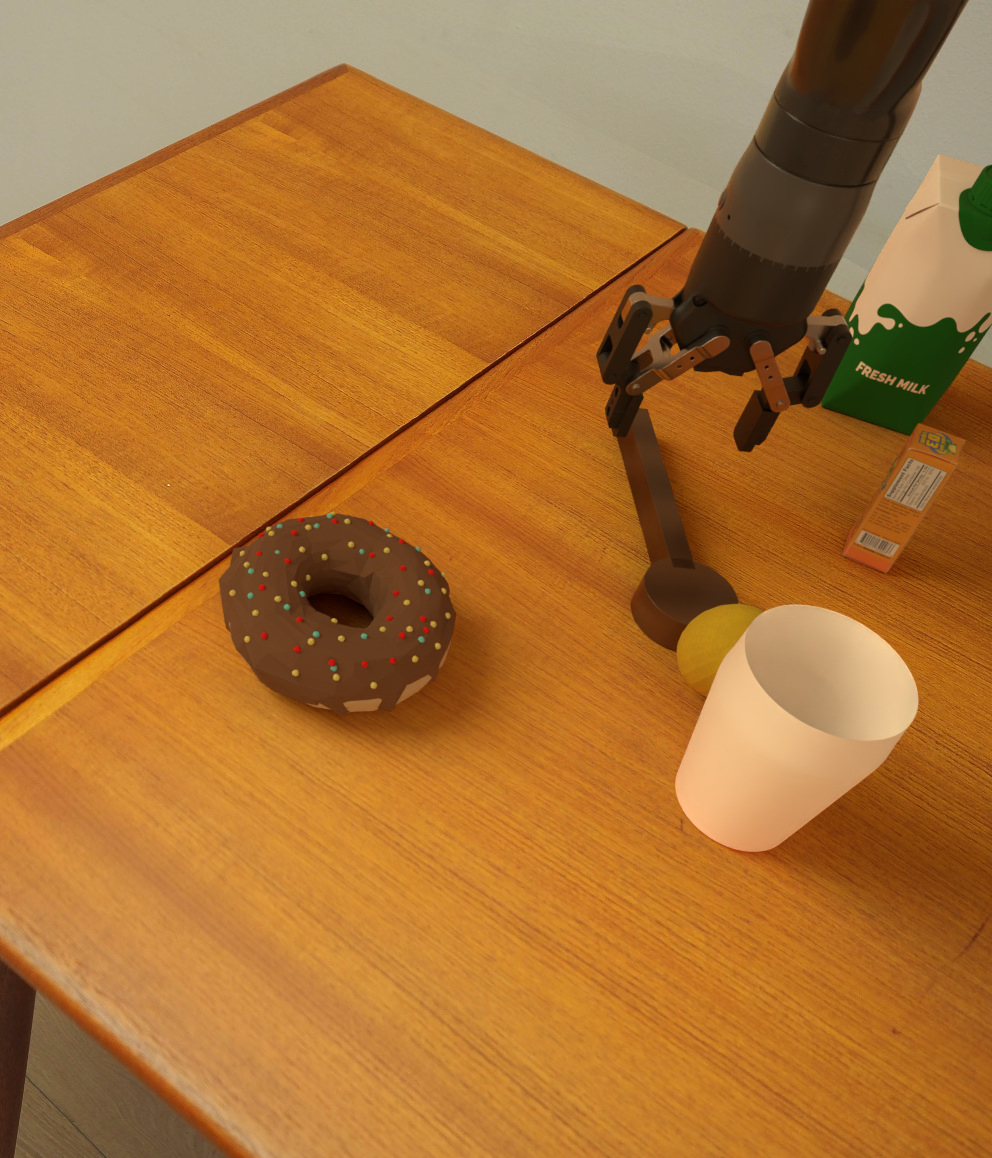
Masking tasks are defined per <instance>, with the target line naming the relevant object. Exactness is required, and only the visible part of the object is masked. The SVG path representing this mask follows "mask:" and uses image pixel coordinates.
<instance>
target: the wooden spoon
mask: <svg viewBox="0 0 992 1158" xmlns="http://www.w3.org/2000/svg"><path fill="white" fill-rule="evenodd" d="M652 422H653V421H652V417H651V415H650V412H649V409H648V408H643V407H639V410H638V412H637V414H636V416H635V418H634V421H633V423H632V425H631V427H630V430H629V432H628V434H627V436H626V437H625V438H621V437H616V440H617V443H618V447H619V451H620V454H621V458H622V461H623V466H624V470H625V472H626V477H627V480H628V485H629V487H630V492H631V495H632V498H633V499H632V500H633V502H634V506H635V510H636V513H637V517H638V520H639V524H640V528H641V532H642V536H643V539H644V543H645V546H646V550H647V554H648V557H649V561H650V564H651V565H649V566H648V568H647V569H646V571H645V572H644V575H643V576H642V578H641V580H640V582H639V584H638V586H637V587H636V589H635V591H634V593H633V595H632V597H631V601H630V611H631V615H632V618H633V620H634V622H635V623H636V625H637V626H638V628H639V629H640V630H641V631H642V632H643V633H644V634H645V635H646V636H647V637H648V638H649V639H650V640H652V641H653V642H655V644H658V645H660V646H662V647H664V648H667V649H668V650H671V651H674V652H677V644H678V642H679V639H680V636H681V634H682V632H683V631H684V630H685V628H686V627H687V625H688V624H689V623H690V622H691V621H692V620H693V619H694V618H696V617H697V616H698V615H700V614H701V613H703V612H704V611H707V610H709V609H712V608H715V607H717V606H721V605H729V604H740V602H739V598H738V595H737V593H736V591H735V589H734V587H733V586H732V585H731V583H730V582H729V581H728V580H727V579H726V578H725V577H724V576H723V575H721V574H720V573H719V572H718V571H716V570H715V569H713V568H711V567H710V566H708V565H706V564H703V563H701V562H700V561H696V560H694V557H693V554H692V551H691V548H690V545H689V541H688V537H687V535H686V531H685V528H684V525H683V522H682V518H681V514H680V511H679V508H678V505H677V502H676V498H675V494H674V491H673V488H672V483H671V482H670V479H669V478H670V477H669V475H668V471H667V469H666V466H665V462H664V461H665V460H664V459H663V455H662V452H661V448H660V445H659V442H658V438H657V434H656V432H655V429H654V426H653V423H652Z"/></svg>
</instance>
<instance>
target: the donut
mask: <svg viewBox="0 0 992 1158" xmlns="http://www.w3.org/2000/svg"><path fill="white" fill-rule="evenodd" d="M446 577H447V574H446V572H444V571H440V569H439V568H437V566H436V565H435V564H434V563H433V561H432V560H431V559H430V558H429V557H428V556H427V555H425V554H424V553H423V552H422V548H421V547H420V546H414V545H412V544H410V543H408V542H407V541H405V539H404V538H401V537H399V536H397V535H396V534H394V533H391V530H390V528H387V527H386V528H382V527H381V526H378V525H377V523H376V521H375V520H367V518H362V517H358V516H353V515H349V514H348V515H347V514H343V513H336V511H331V512H329V513H328V514H321V515H310V516H305V517H298V518H297V517H296V518H289V519H285V520H281V521H280V522H278V523H276V524H273V525H271V526H266V528H265V531H264V532H260V533H259V534H258V537H257V538H255V539H254V540H253V541H252V542H250V543H249V544H247V545H243V546H239V547H234V548H232V554H231V558H230V563H229V567H228V568H227V569H226V570H225V571H224V572H223V573H222V574H221V576H220V577H219V579H218V587H219V592H220V600H221V607H222V614H223V619H224V624H225V629H226V630H227V631H228V632H229V633H230V638H231V641H232V642H233V645H234V648H235V650H236V651H237V652H238V653H239V655H240V656H241V658H242V660H243V661H244V662H245V663H246V664H247V665H248V667H250V669H251V670H252V672H253V673H254V675H255V676H256V678H257V679H258V681H259V682H260V683H261V684H262V685H264V686H265V687H267V688H268V689H269V690H271V691H273V692H275V693H277V694H280V695H282V696H284V697H287V698H288V699H289V698H290V699H292V700H294V701H297V702H299V703H304V704H306V705H309V706H311V707H313V708H319V709H325V710H330V711H333V712H335V713H336V714H338V715H340V716H341V717H344V716H346V715H348V714H349V713H350V714H351V712H352V713H353V712H356V713H357V712H374V711H377V710H382V711H385V712H391V713H392V712H393V710H394V708H395V707H396V705H399V704H401V702H403V701H405V700H407V699H409V698H410V697H411V696H413V695H415V694H416V693H419V692H420V691H421V690H422V689H423V688H424V687H425V686H426V685H428V684H430V683H433V682H434V681H435V680H436V679H437V677H438V676H439V674H440V673H439V672H440V669H441V668H442V667H443V665H444V664H445V661H446V659H447V655H448V653H449V651H450V648H451V645H452V637H453V634H454V630H455V623H456V617H457V612H456V610H455V608H454V606H453V602H452V600H451V596H450V595H451V594H450V593H451V589H450V585H449V582H448V581H447V579H446ZM319 594H327V595H339V596H343V597H346V598H347V599H349V600H352V601H354V602H356V603H358V604H360V605H362V606H363V607H364V608H365V609H366V610H367V612H368V613H369V614H370V615H371V617H372V618H373V619H372V621H371V622H370V624H369V625H368V626H367V627H365V628H364V627H354V626H353V627H352V626H349V625H345V624H342V623H339V622H338V619H337V618H335V617H334V618H333V617H331V616H329V615H328V614H325V613H323V612H321V611H318V610H317V609H315V608H314V607H313V606H312V605H311V603H310V601H309V600H308V598H311V597H314V596H317V595H319Z"/></svg>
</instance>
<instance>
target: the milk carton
mask: <svg viewBox="0 0 992 1158" xmlns="http://www.w3.org/2000/svg"><path fill="white" fill-rule="evenodd" d="M843 318H844V319H845V321H846V323H847V325H848V328H849V331H850V333H851V335H852V340H851V342H850V344H849V346H848V349H847V351H846V353H845V355H844V357H843V359H842V361H841V363H840V365H839V367H838V369H837V371H836V373H835V375H834V377H833V379H832V381H831V383H830V385H829V387H828V389H827V391H826V393H825V395H824V397H823V399H822V401H821V407H822V408H825V409H828V410H831V411H835V412H837V413H841V414H843V415H847V416H849V417H853V418H856V419H859V420H862V421H865V422H868V423H871V424H874V425H877V426H880V427H884V428H886V429H890V430H892V431H896V432H898V433H902V434H904V435H908V436H909V437H910V436H911V434H912V433H913V431H914V429H915V427H916V426H917V424H918V423H920V424H923V422H924V421H925V420H926V418H927V417H928V416H929V414H930V413H931V412H932V410H933V409H934V408H935V406H936V405H937V404H938V402H939V401H941V399H942V397H943V396H944V395H945V393H946V392H947V390H948V389H949V388H950V387H951V386H952V384H953V383H954V381H955V380H956V378H957V376H958V375H959V374H960V372H961V371H962V370H963V368H964V367H965V365H966V364H967V363H968V361H969V359H970V358H971V357H972V355H973V353H974V352H975V351H976V349H977V347H978V346H979V345H980V343H981V342H982V340H983V339H984V338H985V336H986V334H987V333H988V331H989V330H990V329H991V328H992V164H988V165H986V166H984V165H980V164H976V163H972V162H969V161H966V160H962V159H959V158H955V157H952V156H948V155H945V154H941V153H938V155H937V156H936V158H935V159H934V162H933V163H932V165H931V166H930V169H929V170H928V171H927V174H926V175H925V177H924V179H923V181H922V182H921V184H920V186H919V187H918V189H917V191H916V192H915V194H914V196H912V199H911V200H910V201H909V203H908V204H907V205H906V207H905V209H904V213H903V214H902V216H901V217H900V219H899V220H898V222H897V223H896V226H895V227H894V229H893V230H892V232H891V233H890V235H889V237H888V239H887V241H886V243H885V244H884V246H883V247H882V249H881V251H880V253H879V255H878V256H877V258H876V259H875V261H874V263H873V265H872V267H871V269H870V270H869V272H868V274H867V275H866V277H865V279H864V281H863V283H862V284H861V286H860V288H859V289H858V291H857V293H856V295H855V296H854V298H853V300H852V301H851V304H850V305H849V307H848V308H847V311H846V313H845V314H844V316H843Z"/></svg>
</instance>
